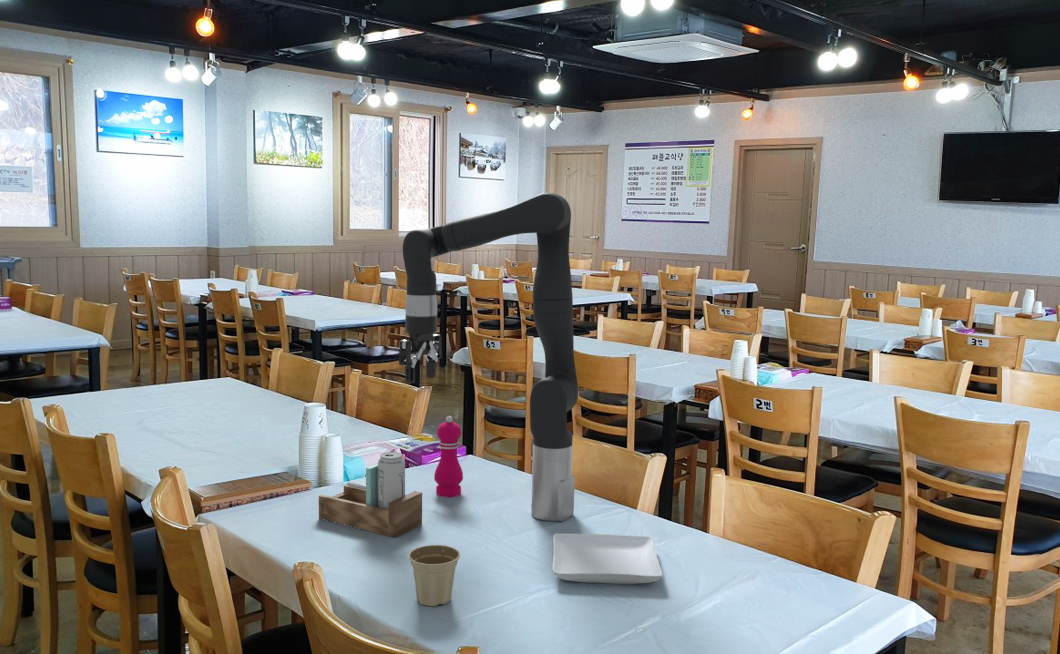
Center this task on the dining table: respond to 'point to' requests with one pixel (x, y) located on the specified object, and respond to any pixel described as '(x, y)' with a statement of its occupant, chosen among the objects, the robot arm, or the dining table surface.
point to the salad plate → (605, 558)
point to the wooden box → (372, 512)
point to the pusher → (369, 485)
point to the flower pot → (434, 573)
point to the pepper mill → (448, 460)
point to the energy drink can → (390, 478)
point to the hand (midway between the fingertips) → (420, 379)
